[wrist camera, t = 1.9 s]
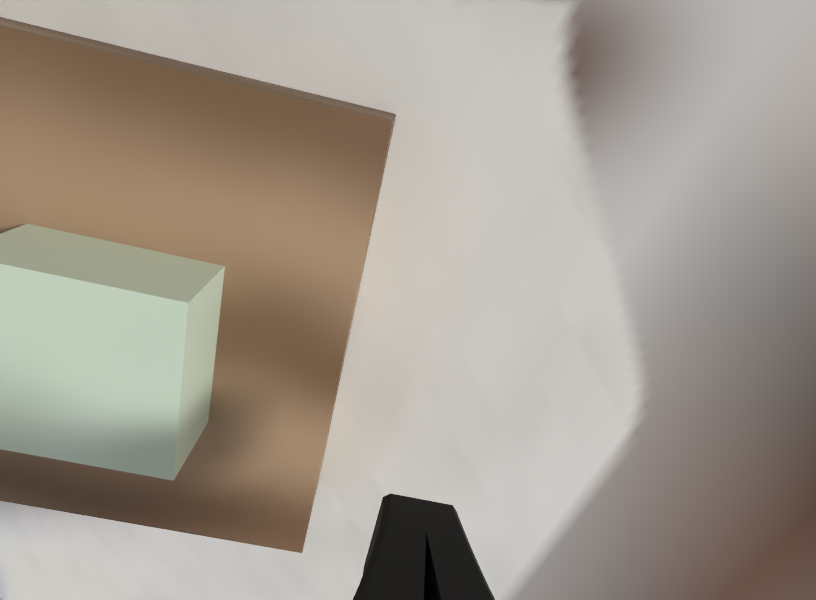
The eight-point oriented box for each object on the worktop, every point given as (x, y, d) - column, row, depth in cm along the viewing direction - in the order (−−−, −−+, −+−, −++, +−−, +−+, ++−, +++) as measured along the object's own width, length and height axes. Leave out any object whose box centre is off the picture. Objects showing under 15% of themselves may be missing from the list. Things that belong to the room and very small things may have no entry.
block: (207, 422, 16) (173, 480, 14) (33, 388, 15) (-33, 443, 13) (224, 266, 14) (188, 302, 12) (27, 223, 14) (-51, 252, 11)
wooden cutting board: (316, 489, 21) (302, 552, 18) (-65, 418, 19) (-144, 475, 17) (395, 114, 15) (393, 121, 13) (-118, -12, 14) (-246, -34, 11)
